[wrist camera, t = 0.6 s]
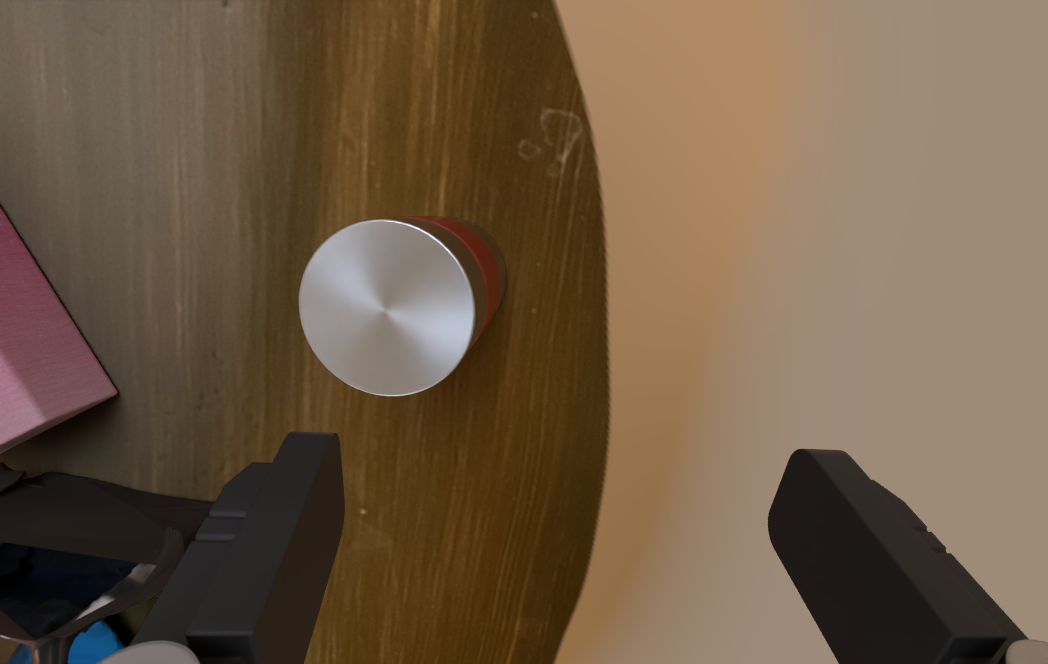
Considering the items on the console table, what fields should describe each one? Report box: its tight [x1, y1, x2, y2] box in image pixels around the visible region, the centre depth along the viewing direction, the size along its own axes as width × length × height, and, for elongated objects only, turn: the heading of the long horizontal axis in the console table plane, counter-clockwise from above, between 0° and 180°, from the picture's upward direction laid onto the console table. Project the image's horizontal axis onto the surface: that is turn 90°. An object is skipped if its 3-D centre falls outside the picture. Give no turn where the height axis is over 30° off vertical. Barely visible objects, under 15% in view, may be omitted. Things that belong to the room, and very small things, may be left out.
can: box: [299, 216, 506, 396], centre depth 23 cm, size 6×6×10 cm
